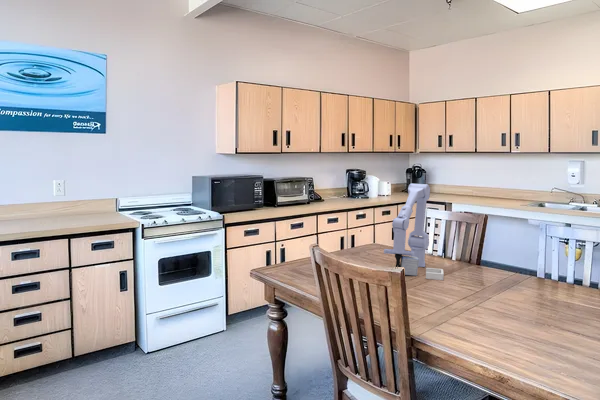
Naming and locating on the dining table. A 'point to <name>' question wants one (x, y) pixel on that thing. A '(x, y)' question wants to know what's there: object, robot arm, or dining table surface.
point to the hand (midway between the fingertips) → (397, 268)
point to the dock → (434, 273)
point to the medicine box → (410, 265)
